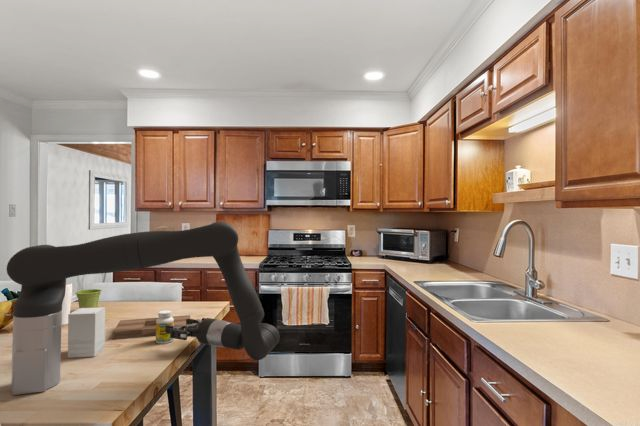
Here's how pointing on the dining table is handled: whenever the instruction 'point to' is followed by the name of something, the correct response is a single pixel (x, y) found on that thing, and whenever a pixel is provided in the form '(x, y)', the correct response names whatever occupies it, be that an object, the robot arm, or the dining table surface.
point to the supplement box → (86, 332)
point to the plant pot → (88, 298)
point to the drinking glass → (66, 304)
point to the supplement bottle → (160, 327)
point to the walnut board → (143, 327)
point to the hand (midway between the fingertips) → (176, 325)
